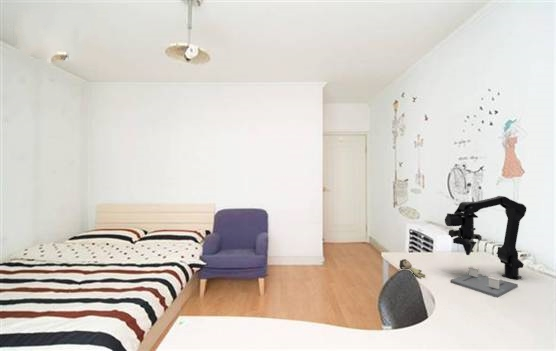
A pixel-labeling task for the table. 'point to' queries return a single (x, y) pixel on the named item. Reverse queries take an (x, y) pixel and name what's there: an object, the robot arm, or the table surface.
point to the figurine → (407, 265)
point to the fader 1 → (473, 271)
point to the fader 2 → (493, 282)
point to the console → (483, 284)
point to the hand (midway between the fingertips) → (467, 254)
